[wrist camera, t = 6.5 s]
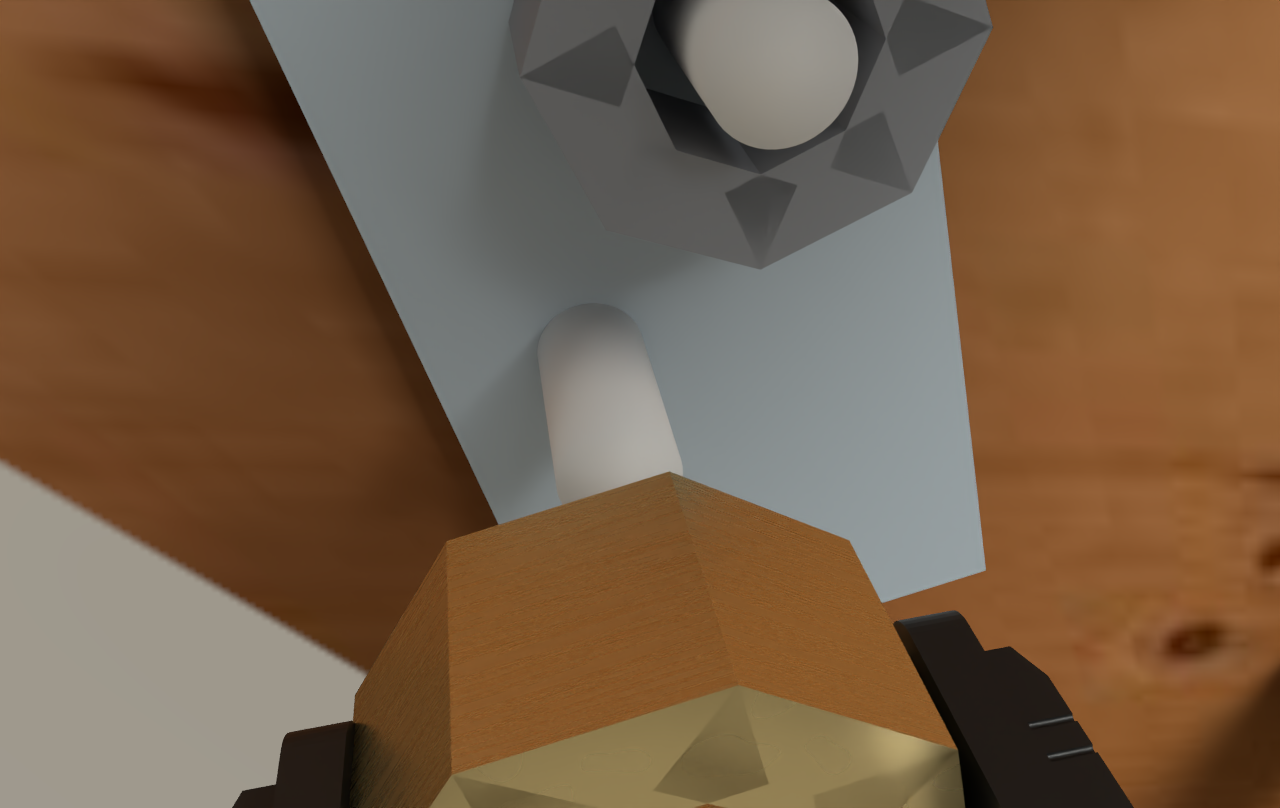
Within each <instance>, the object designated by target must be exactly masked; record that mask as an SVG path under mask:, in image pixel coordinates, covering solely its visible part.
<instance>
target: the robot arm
mask: <svg viewBox="0 0 1280 808" xmlns="http://www.w3.org/2000/svg"><path fill="white" fill-rule="evenodd" d="M893 626H894V628H895V629H896V631H897V633H898V635H899V637H900V639H901V641H902V643H903V645H904V647H905V649H906V651H907V653H908V655H909V657H910V658H911V660H912V662H913V664H914V666H915V668H916V670H917V672H918V674H919V676H920V678H921V680H922V682H923V684H924V685H925V687H926V689H927V691H928V693H929V695H930V697H931V699H932V701H933V703H934V705H935V707H936V709H937V711H938V713H939V714H940V716H941V718H942V720H943V722H944V724H945V726H946V728H947V730H948V732H949V734H950V736H951V738H952V740H953V742H954V743H955V745H956V747H957V749H958V755H959V763H960V771H961V778H962V786H963V794H964V802H965V808H1134V807H1133V806H1132V804H1131V803H1130V801H1129V800H1128V798H1127V797H1126V795H1125V793H1124V792H1123V790H1122V789H1121V787H1120V786H1119V784H1118V783H1117V781H1116V780H1115V778H1114V777H1113V775H1112V774H1111V772H1110V770H1109V769H1108V767H1107V766H1106V764H1105V763H1104V761H1103V760H1102V758H1101V757H1100V755H1099V754H1098V752H1096V753H1095V752H1094V750H1093V747H1092V745H1093V744H1092V743H1091V741H1090V740H1089V738H1088V737H1087V735H1086V734H1085V732H1084V731H1083V729H1082V727H1081V726H1080V724H1079V723H1078V721H1074V719H1073V716H1072V712H1071V711H1070V709H1069V708H1068V706H1067V704H1066V703H1065V701H1064V700H1063V698H1062V697H1061V695H1060V694H1059V692H1058V691H1057V689H1056V688H1055V686H1054V684H1053V683H1052V681H1051V680H1050V678H1049V677H1048V676H1047V675H1046V674H1045V673H1044V672H1042V671H1041V670H1040V669H1038V668H1037V667H1036V666H1035V665H1033V664H1032V663H1031V662H1029V661H1028V660H1027V659H1026V658H1024V657H1023V656H1022V655H1020V654H1019V653H1018V652H1017V651H1015V650H1014V649H1013V648H1011V647H1010V646H1009V647H1004V648H999V649H993V650H988V651H984V649H983V648H982V646H981V644H980V643H979V641H978V639H977V638H976V636H975V634H974V633H973V631H972V629H971V628H970V626H969V624H968V623H967V621H966V620H965V618H964V617H963V616H962V615H961V614H960V613H959V612H957V611H955V610H954V611H947V612H942V613H937V614H931V615H926V616H921V617H915V618H910V619H904V620H899V621H896V622H894V624H893ZM354 735H355V722H354V721H348V722H342V723H337V724H332V725H326V726H321V727H316V728H310V729H305V730H300V731H294V732H289V733H287V734H286V735H285V737H284V739H283V743H282V747H281V753H280V761H279V767H278V774H277V781H276V785H271V786H266V787H261V788H255V789H250V790H245V791H242V793H241V794H240V796H239V797H238V799H237V801H236V802H235V804H234V806H233V807H232V808H349V803H350V789H351V776H352V762H353V749H354Z"/></svg>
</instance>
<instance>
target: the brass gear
mask: <svg viewBox="0 0 1280 808" xmlns="http://www.w3.org/2000/svg"><path fill="white" fill-rule="evenodd" d="M353 721H354V722H355V735H354V749H353V762H352V776H351V789H350V803H349V808H965V802H964V794H963V786H962V778H961V771H960V763H959V755H958V749H957V747H956V745H955V743H954V742H953V740H952V738H951V736H950V734H949V732H948V730H947V728H946V726H945V724H944V722H943V720H942V718H941V716H940V714H939V713H938V711H937V709H936V707H935V705H934V703H933V701H932V699H931V697H930V695H929V693H928V691H927V689H926V687H925V685H924V684H923V682H922V680H921V678H920V676H919V674H918V672H917V670H916V668H915V666H914V664H913V662H912V660H911V658H910V657H909V655H908V653H907V651H906V649H905V647H904V645H903V643H902V641H901V639H900V637H899V635H898V633H897V631H896V629H895V628H894V626H893V624H892V622H891V620H890V618H889V616H888V614H887V612H886V610H885V608H884V606H883V604H882V602H881V601H880V599H879V597H878V595H877V593H876V591H875V589H874V587H873V585H872V583H871V581H870V579H869V577H868V575H867V573H866V572H865V570H864V568H863V566H862V564H861V562H860V560H859V558H858V556H857V554H856V552H855V550H854V548H853V546H852V544H851V543H850V541H849V540H847V539H845V538H842V537H839V536H837V535H834V534H831V533H829V532H826V531H824V530H821V529H818V528H816V527H813V526H811V525H808V524H805V523H803V522H800V521H798V520H795V519H792V518H790V517H787V516H785V515H782V514H779V513H777V512H774V511H771V510H769V509H766V508H764V507H761V506H758V505H756V504H753V503H751V502H748V501H745V500H743V499H740V498H738V497H735V496H732V495H730V494H727V493H725V492H722V491H719V490H717V489H714V488H711V487H709V486H706V485H704V484H701V483H698V482H696V481H693V480H691V479H688V478H685V477H683V476H680V475H678V474H675V473H672V472H670V471H669V472H666V473H662V474H659V475H656V476H653V477H650V478H646V479H643V480H640V481H637V482H634V483H630V484H627V485H624V486H621V487H618V488H615V489H611V490H608V491H605V492H602V493H599V494H595V495H592V496H589V497H586V498H583V499H579V500H576V501H573V502H570V503H567V504H563V505H560V506H557V507H554V508H551V509H547V510H544V511H541V512H538V513H535V514H532V515H528V516H525V517H522V518H519V519H516V520H512V521H509V522H506V523H503V524H500V525H496V526H493V527H490V528H487V529H484V530H480V531H477V532H474V533H471V534H468V535H464V536H461V537H458V538H455V539H452V540H449V541H446V543H445V545H444V546H443V548H442V550H441V551H440V553H439V555H438V556H437V558H436V560H435V561H434V563H433V565H432V566H431V568H430V570H429V572H428V573H427V575H426V577H425V578H424V580H423V582H422V583H421V585H420V587H419V588H418V590H417V592H416V593H415V595H414V597H413V598H412V600H411V602H410V604H409V605H408V607H407V609H406V610H405V612H404V614H403V615H402V617H401V619H400V620H399V622H398V624H397V625H396V627H395V629H394V630H393V632H392V634H391V636H390V637H389V639H388V641H387V642H386V644H385V646H384V647H383V649H382V651H381V652H380V654H379V656H378V657H377V659H376V661H375V662H374V664H373V666H372V668H371V669H370V671H369V673H368V674H367V676H366V678H365V679H364V681H363V683H362V684H361V686H360V688H359V689H358V691H357V693H356V695H355V703H354V716H353Z"/></svg>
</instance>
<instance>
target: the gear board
mask: <svg viewBox="0 0 1280 808" xmlns="http://www.w3.org/2000/svg"><path fill="white" fill-rule="evenodd" d="M250 2H251V4H252V6H253V8H254V11H255V13H256V15H257V17H258V19H259V21H260V23H261V25H262V27H263V29H264V32H265V34H266V36H267V38H268V40H269V42H270V44H271V46H272V48H273V51H274V53H275V55H276V57H277V59H278V61H279V63H280V65H281V67H282V70H283V72H284V74H285V76H286V78H287V80H288V82H289V84H290V86H291V88H292V91H293V93H294V95H295V97H296V99H297V101H298V103H299V105H300V107H301V110H302V112H303V114H304V116H305V118H306V120H307V122H308V124H309V126H310V128H311V131H312V133H313V135H314V137H315V139H316V141H317V143H318V145H319V147H320V150H321V152H322V154H323V156H324V158H325V160H326V162H327V164H328V166H329V168H330V171H331V173H332V175H333V177H334V179H335V181H336V183H337V185H338V187H339V190H340V192H341V194H342V196H343V198H344V200H345V202H346V204H347V206H348V208H349V211H350V213H351V215H352V217H353V219H354V221H355V223H356V225H357V227H358V230H359V232H360V234H361V236H362V238H363V240H364V242H365V244H366V246H367V248H368V251H369V253H370V255H371V257H372V259H373V261H374V263H375V265H376V267H377V270H378V272H379V274H380V276H381V278H382V280H383V282H384V284H385V286H386V288H387V291H388V293H389V295H390V297H391V299H392V301H393V303H394V305H395V307H396V310H397V312H398V314H399V316H400V318H401V320H402V322H403V324H404V326H405V328H406V331H407V333H408V335H409V337H410V339H411V341H412V343H413V345H414V347H415V350H416V352H417V354H418V356H419V358H420V360H421V362H422V364H423V366H424V369H425V371H426V373H427V375H428V377H429V379H430V381H431V383H432V385H433V387H434V390H435V392H436V394H437V396H438V398H439V400H440V402H441V404H442V406H443V409H444V411H445V413H446V415H447V417H448V419H449V421H450V423H451V425H452V427H453V430H454V432H455V434H456V436H457V438H458V440H459V442H460V444H461V446H462V449H463V451H464V453H465V455H466V457H467V459H468V461H469V463H470V465H471V467H472V470H473V472H474V474H475V476H476V478H477V480H478V482H479V484H480V486H481V489H482V491H483V493H484V495H485V497H486V499H487V501H488V503H489V505H490V507H491V510H492V512H493V514H494V516H495V518H496V520H497V522H498V524H499V525H500V524H503V523H506V522H509V521H512V520H516V519H519V518H522V517H525V516H528V515H532V514H535V513H538V512H541V511H544V510H547V509H551V508H554V507H557V506H560V505H563V504H567V503H570V502H573V501H576V500H579V499H583V498H586V497H589V496H592V495H595V494H599V493H602V492H605V491H608V490H611V489H615V488H618V487H621V486H624V485H627V484H630V483H634V482H637V481H640V480H643V479H646V478H650V477H653V476H656V475H659V474H662V473H666V472H669V471H670V472H672V473H675V474H678V475H680V476H683V477H685V478H688V479H691V480H693V481H696V482H698V483H701V484H704V485H706V486H709V487H711V488H714V489H717V490H719V491H722V492H725V493H727V494H730V495H732V496H735V497H738V498H740V499H743V500H745V501H748V502H751V503H753V504H756V505H758V506H761V507H764V508H766V509H769V510H771V511H774V512H777V513H779V514H782V515H785V516H787V517H790V518H792V519H795V520H798V521H800V522H803V523H805V524H808V525H811V526H813V527H816V528H818V529H821V530H824V531H826V532H829V533H831V534H834V535H837V536H839V537H842V538H845V539H847V540H849V541H850V543H851V544H852V546H853V548H854V550H855V552H856V554H857V556H858V558H859V560H860V562H861V564H862V566H863V568H864V570H865V572H866V573H867V575H868V577H869V579H870V581H871V583H872V585H873V587H874V589H875V591H876V593H877V595H878V597H879V599H880V601H881V602H882V603H883V602H886V601H890V600H893V599H896V598H899V597H902V596H906V595H909V594H912V593H915V592H918V591H922V590H925V589H928V588H931V587H934V586H937V585H941V584H944V583H947V582H950V581H953V580H957V579H960V578H963V577H966V576H969V575H973V574H976V573H979V572H982V571H985V570H986V568H985V559H984V550H983V541H982V532H981V523H980V514H979V505H978V496H977V487H976V478H975V469H974V461H973V452H972V443H971V434H970V425H969V416H968V407H967V398H966V389H965V380H964V371H963V362H962V353H961V344H960V336H959V327H958V318H957V309H956V300H955V291H954V282H953V273H952V264H951V255H950V246H949V237H948V228H947V220H946V211H945V202H944V193H943V184H942V175H941V166H940V157H939V148H938V139H939V137H940V135H941V133H942V131H943V129H944V127H945V124H946V122H947V120H948V118H949V116H950V114H951V112H952V110H953V108H954V106H955V104H956V102H957V100H958V98H959V96H960V94H961V92H962V90H963V88H964V86H965V84H966V81H967V79H968V77H969V75H970V73H971V71H972V69H973V67H974V65H975V63H976V61H977V59H978V57H979V55H980V53H981V51H982V49H983V47H984V45H985V43H986V40H987V38H988V36H989V34H990V32H991V30H992V28H993V26H992V22H991V19H990V15H989V11H988V8H987V4H986V0H250Z"/></svg>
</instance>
